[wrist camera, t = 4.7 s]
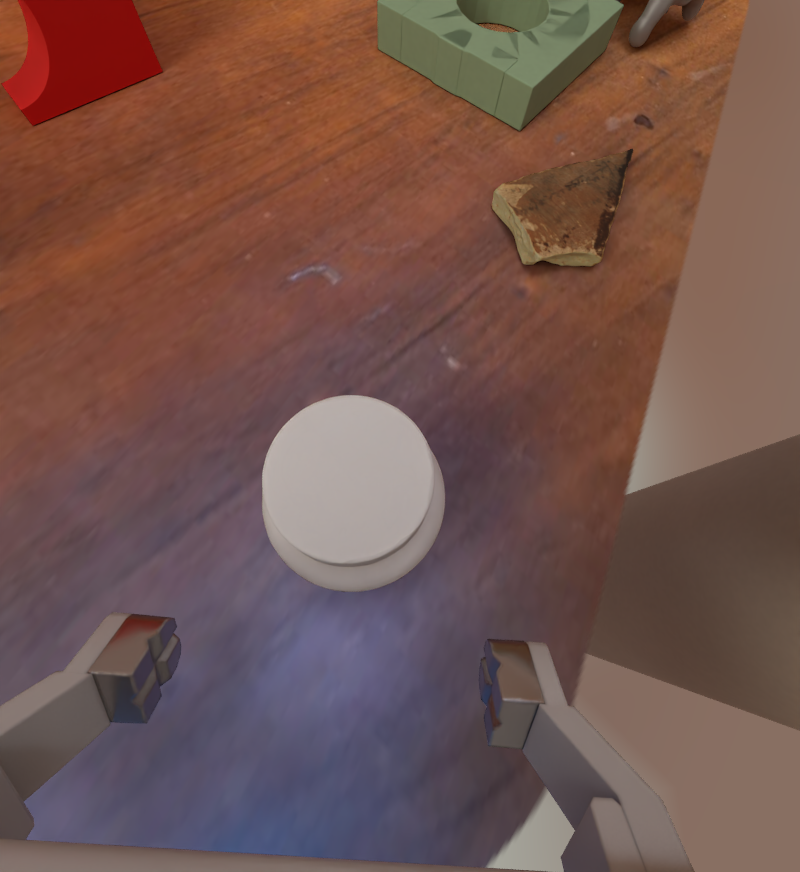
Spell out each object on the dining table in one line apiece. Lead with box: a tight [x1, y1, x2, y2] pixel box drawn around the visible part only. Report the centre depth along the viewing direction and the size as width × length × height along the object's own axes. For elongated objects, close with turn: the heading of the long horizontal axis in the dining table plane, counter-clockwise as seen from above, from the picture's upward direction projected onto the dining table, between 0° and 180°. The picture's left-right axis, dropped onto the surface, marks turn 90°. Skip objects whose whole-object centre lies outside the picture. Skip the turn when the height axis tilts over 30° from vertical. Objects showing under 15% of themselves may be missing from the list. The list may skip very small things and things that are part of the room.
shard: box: [492, 149, 633, 267], centre depth 28 cm, size 11×8×2 cm
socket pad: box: [377, 0, 624, 131], centre depth 33 cm, size 14×13×3 cm
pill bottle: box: [262, 395, 445, 592], centre depth 16 cm, size 6×6×11 cm
